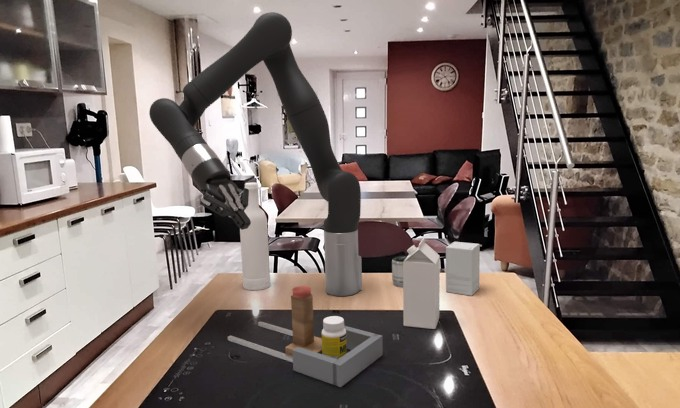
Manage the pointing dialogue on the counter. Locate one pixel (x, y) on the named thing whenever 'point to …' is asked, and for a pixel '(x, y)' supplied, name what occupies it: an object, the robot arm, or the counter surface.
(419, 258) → the milk carton
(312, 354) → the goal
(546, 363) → the counter surface
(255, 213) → the bottle
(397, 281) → the camera lens
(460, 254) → the supplement box
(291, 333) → the track
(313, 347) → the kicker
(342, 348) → the supplement bottle
